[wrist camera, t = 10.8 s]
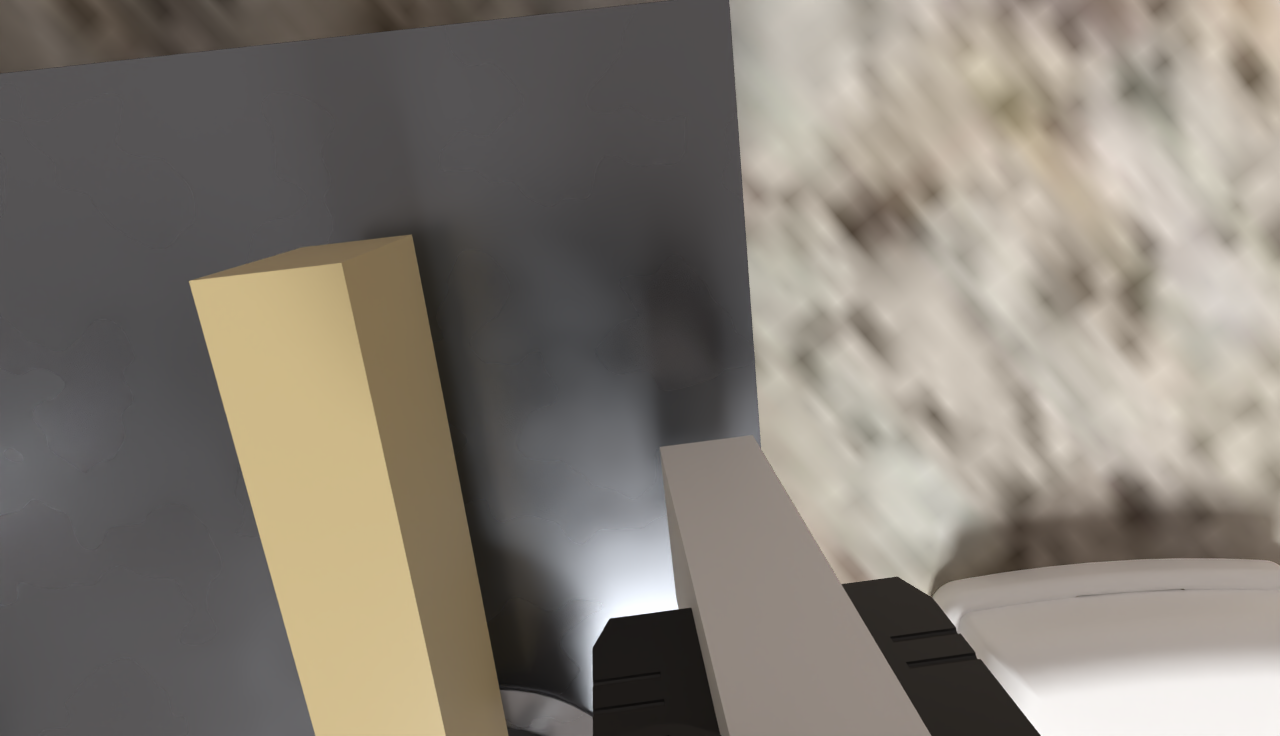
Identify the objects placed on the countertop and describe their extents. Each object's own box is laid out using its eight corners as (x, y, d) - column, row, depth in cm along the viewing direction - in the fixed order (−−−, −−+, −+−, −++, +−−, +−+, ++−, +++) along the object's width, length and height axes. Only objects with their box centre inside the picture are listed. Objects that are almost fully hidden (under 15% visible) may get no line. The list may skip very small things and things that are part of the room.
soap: (899, 800, 19) (951, 909, 16) (917, 565, 17) (979, 643, 15) (1233, 773, 20) (1339, 874, 17) (1285, 542, 18) (1414, 612, 15)
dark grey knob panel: (-397, 970, 18) (-524, 1075, 16) (-950, 135, 12) (-1248, 130, 10) (771, 804, 18) (793, 883, 16) (704, -44, 13) (724, -80, 11)
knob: (623, 891, 16) (635, 1180, 11) (408, 923, 16) (334, 1227, 11) (520, 217, 12) (477, 250, 8) (234, 250, 12) (15, 304, 7)
